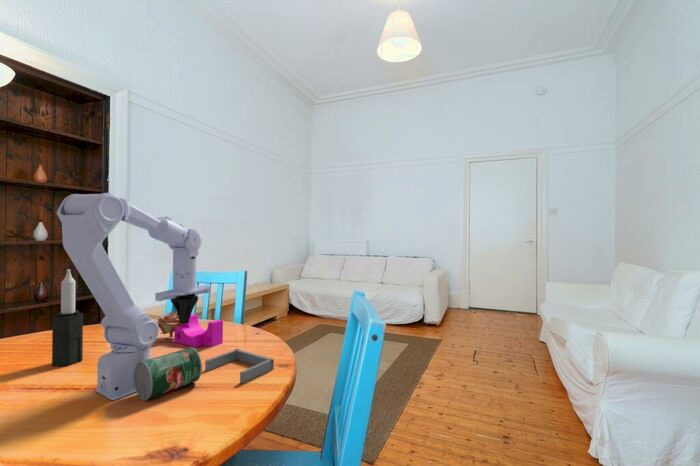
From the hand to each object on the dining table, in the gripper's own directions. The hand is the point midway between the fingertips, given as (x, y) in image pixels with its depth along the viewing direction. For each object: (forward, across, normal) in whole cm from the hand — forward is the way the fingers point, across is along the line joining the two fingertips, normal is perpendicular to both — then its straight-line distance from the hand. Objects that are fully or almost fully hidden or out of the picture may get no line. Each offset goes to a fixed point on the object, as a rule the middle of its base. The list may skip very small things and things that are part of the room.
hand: (184, 323), depth 90 cm
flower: (+11, +10, +23) cm, 27 cm away
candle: (+11, -17, +25) cm, 32 cm away
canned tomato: (+6, -6, -13) cm, 15 cm away
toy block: (+11, +12, +11) cm, 20 cm away
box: (+10, +4, -17) cm, 20 cm away
